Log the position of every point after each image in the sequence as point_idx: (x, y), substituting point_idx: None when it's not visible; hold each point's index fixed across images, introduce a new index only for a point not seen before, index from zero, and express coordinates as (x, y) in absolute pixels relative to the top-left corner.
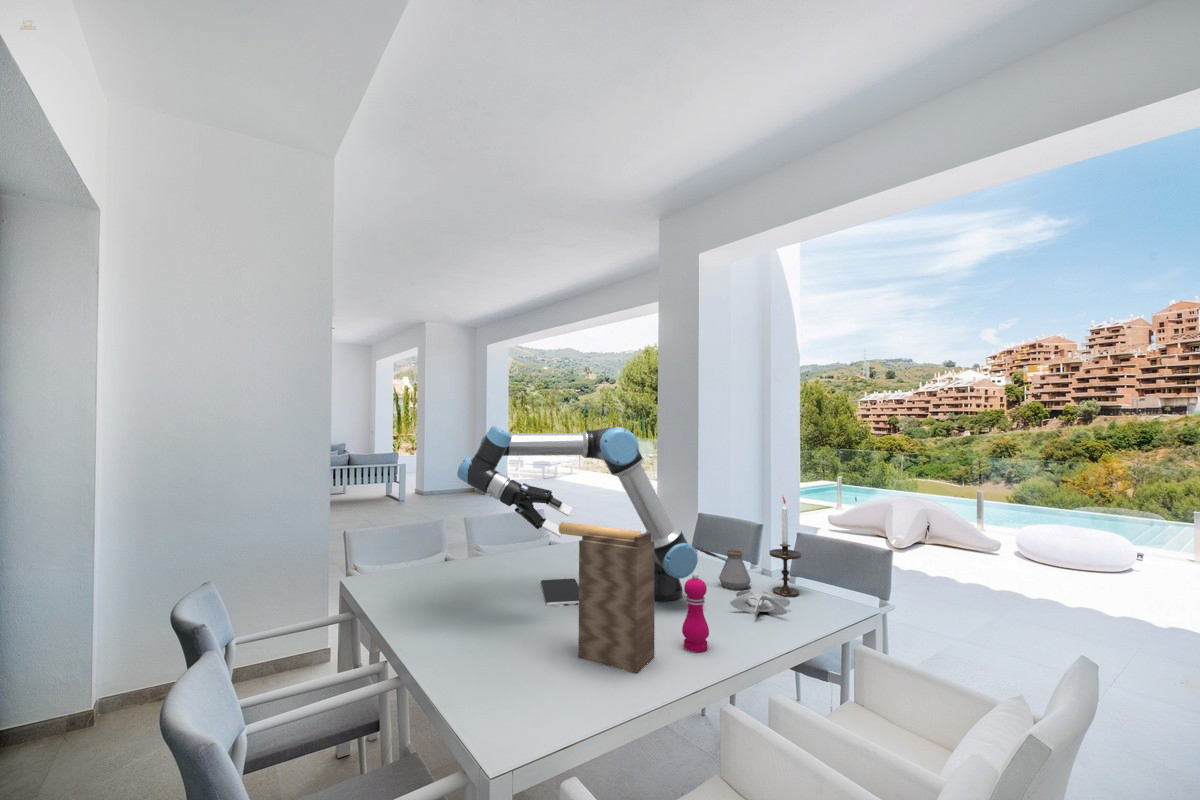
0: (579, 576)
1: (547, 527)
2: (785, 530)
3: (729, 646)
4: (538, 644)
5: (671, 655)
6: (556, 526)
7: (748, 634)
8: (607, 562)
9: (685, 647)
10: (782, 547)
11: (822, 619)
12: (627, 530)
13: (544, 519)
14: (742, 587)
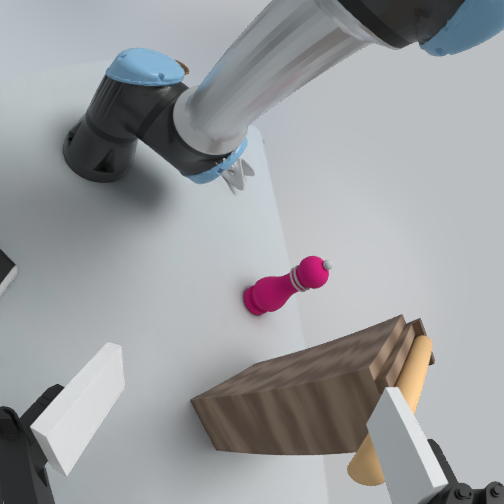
0: (323, 453)
1: (81, 444)
2: None
3: (264, 272)
4: (145, 483)
5: (258, 340)
6: (97, 384)
7: (252, 231)
8: None
9: (254, 313)
10: None
11: (255, 163)
12: (430, 354)
13: (10, 425)
14: None
